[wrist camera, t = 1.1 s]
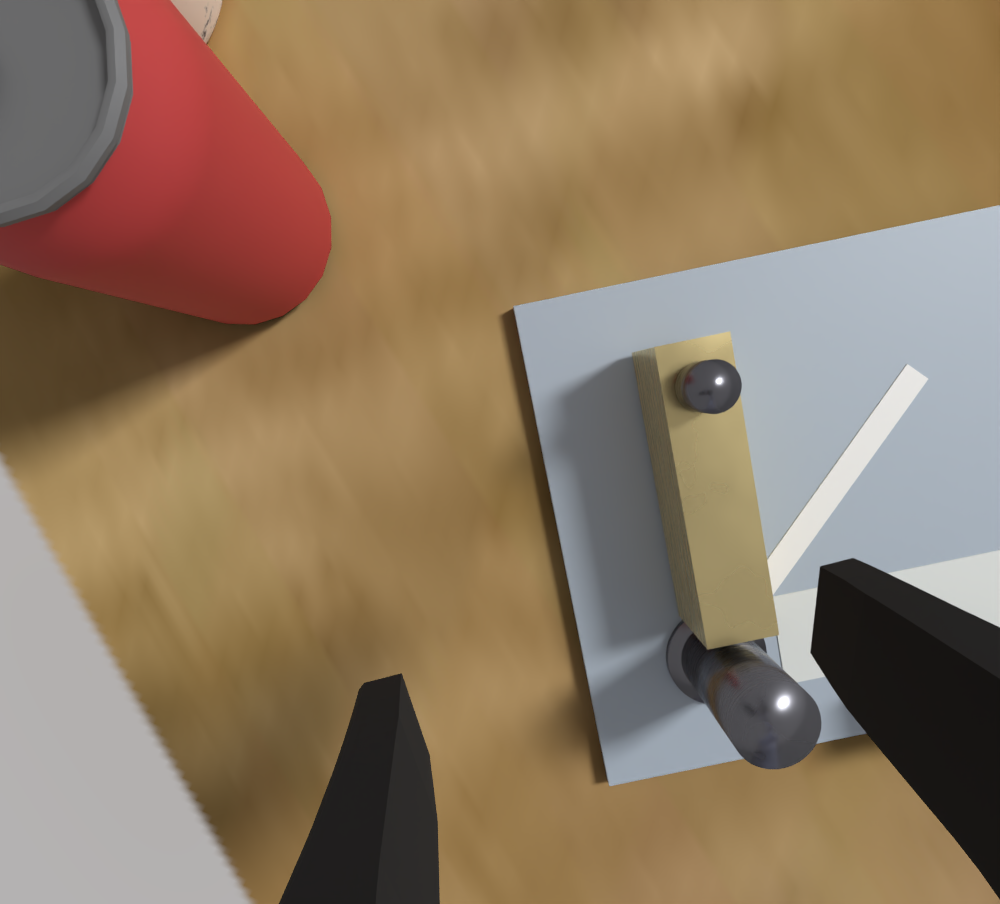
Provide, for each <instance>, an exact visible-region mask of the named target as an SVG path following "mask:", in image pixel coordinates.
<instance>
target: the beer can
mask: <svg viewBox="0 0 1000 904" xmlns="http://www.w3.org/2000/svg"><path fill="white" fill-rule="evenodd" d="M330 250H331V216H330V213H329V210H328V207H327V204H326V201H325V197H324V194H323V191H322V188H321V187H320V185H319V184H318V182H317V181H316V180H315V178H314V177H313V175H312V174H311V172H310V171H309V170H308V168H307V167H306V165H305V164H304V163H303V161H302V160H301V159H300V158H299V156H298V155H297V154H296V153H295V152H294V150H293V149H292V148H291V147H290V146H289V144H288V143H287V142H286V141H285V139H284V138H283V137H282V136H281V135H280V133H279V132H278V131H277V130H276V128H275V127H274V126H273V125H272V124H271V122H270V121H269V120H268V119H267V118H266V116H265V115H264V114H263V113H262V111H261V110H260V109H259V108H258V107H257V105H256V104H255V103H254V102H253V100H252V99H251V98H250V97H249V96H248V94H247V93H246V92H245V91H244V89H243V88H242V87H241V86H240V85H239V83H238V82H237V81H236V80H235V79H234V77H233V76H232V75H231V74H230V72H229V71H228V70H227V69H226V68H225V66H224V65H223V64H222V63H221V61H220V60H219V59H218V58H217V57H216V55H215V54H214V53H213V52H212V50H211V49H210V48H209V47H208V46H207V44H206V43H205V42H204V41H203V40H202V38H201V37H200V36H199V35H198V33H197V32H196V31H195V30H194V29H193V27H192V26H191V25H190V24H189V22H188V21H187V20H186V19H185V18H184V16H183V15H182V14H181V13H180V12H179V10H178V9H177V8H176V7H175V5H174V4H173V3H172V2H171V1H170V0H0V265H3V266H6V267H9V268H12V269H15V270H17V271H20V272H23V273H26V274H29V275H32V276H35V277H38V278H42V279H46V280H51V281H55V282H59V283H63V284H67V285H71V286H75V287H79V288H83V289H87V290H91V291H95V292H99V293H103V294H107V295H112V296H116V297H120V298H124V299H128V300H132V301H136V302H140V303H144V304H148V305H152V306H156V307H160V308H164V309H168V310H172V311H177V312H181V313H185V314H189V315H193V316H197V317H201V318H205V319H209V320H213V321H217V322H221V323H225V324H258V323H261V322H264V321H268V320H271V319H274V318H277V317H280V316H283V315H284V314H286V313H287V312H289V311H290V310H291V309H293V308H294V307H296V306H297V305H298V304H300V303H301V302H302V301H304V300H305V299H306V298H307V297H308V295H309V294H310V292H311V291H312V290H313V288H314V287H315V285H316V284H317V283H318V281H319V280H320V278H321V277H322V276H323V272H324V269H325V266H326V263H327V260H328V256H329V253H330Z"/></svg>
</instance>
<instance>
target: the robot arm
mask: <svg viewBox="0 0 1000 904" xmlns="http://www.w3.org/2000/svg"><path fill="white" fill-rule="evenodd" d="M810 653H811V655H812V656H813V658H814V660H815V661H816V663H817V664H818V666H819V667H820V669H821V671H822V672H823V674H824V675H825V677H826V679H827V680H828V682H829V683H830V685H831V686H832V688H833V689H834V691H835V692H836V694H837V695H838V697H839V698H840V700H841V701H842V703H843V704H844V706H845V707H846V708H847V710H848V711H849V712H850V713H851V715H852V716H853V717H854V718H855V720H856V721H857V722H858V723H859V725H860V726H861V727H862V728H863V729H864V731H865V732H866V733H867V734H868V736H869V737H870V738H871V739H872V740H873V742H874V743H875V744H876V745H877V746H878V748H879V749H880V750H881V751H882V753H883V754H884V755H885V756H886V757H887V758H888V760H889V761H890V762H891V763H892V764H893V766H894V767H895V768H896V769H897V770H898V772H899V773H900V774H901V775H902V776H903V778H904V779H905V780H906V781H907V782H908V784H909V785H910V786H911V787H912V788H913V790H914V791H915V792H916V793H917V794H918V796H919V797H920V798H921V799H922V800H923V802H924V803H925V804H926V805H927V806H928V807H929V809H930V810H931V811H932V812H933V813H934V815H935V816H936V817H937V818H938V819H939V821H940V822H941V823H942V824H943V825H944V827H945V828H946V829H947V830H948V831H949V833H950V834H951V835H952V836H953V837H954V839H955V840H956V841H957V842H958V844H959V845H960V846H961V848H962V849H963V850H964V851H965V853H966V854H967V855H968V857H969V858H970V859H971V860H972V862H973V863H974V864H975V865H976V867H977V868H978V869H979V871H980V872H981V873H982V875H983V876H984V878H985V879H986V880H987V882H988V883H989V885H990V886H991V888H992V889H993V890H994V892H995V893H996V895H997V896H998V897H999V899H1000V627H998V626H996V625H994V624H992V623H990V622H988V621H985V620H983V619H981V618H979V617H977V616H975V615H973V614H971V613H969V612H967V611H964V610H962V609H960V608H958V607H956V606H954V605H952V604H950V603H948V602H946V601H944V600H942V599H940V598H937V597H935V596H933V595H931V594H929V593H927V592H925V591H923V590H921V589H919V588H917V587H915V586H913V585H911V584H909V583H907V582H904V581H902V580H900V579H898V578H896V577H894V576H892V575H890V574H888V573H886V572H884V571H882V570H879V569H877V568H875V567H873V566H871V565H869V564H866V563H864V562H862V561H860V560H857V559H855V558H851V559H847V560H843V561H839V562H835V563H831V564H827V565H823V566H820V570H819V579H818V588H817V597H816V606H815V615H814V624H813V633H812V642H811V651H810ZM279 904H440V900H439V858H438V821H437V813H436V804H435V795H434V787H433V779H432V771H431V763H430V755H429V752H428V749H427V746H426V743H425V740H424V737H423V735H422V732H421V729H420V726H419V723H418V720H417V717H416V714H415V711H414V708H413V705H412V702H411V700H410V697H409V694H408V691H407V688H406V685H405V682H404V679H403V676H402V673H401V674H397V675H394V676H390V677H386V678H382V679H378V680H374V681H370V682H366V683H364V684H363V685H362V686H361V688H360V689H359V692H358V695H357V699H356V703H355V706H354V710H353V713H352V716H351V720H350V723H349V726H348V729H347V732H346V735H345V738H344V741H343V745H342V747H341V750H340V753H339V756H338V759H337V762H336V765H335V768H334V771H333V773H332V776H331V779H330V781H329V784H328V787H327V789H326V792H325V794H324V797H323V800H322V802H321V805H320V808H319V810H318V813H317V815H316V818H315V821H314V823H313V826H312V828H311V831H310V833H309V836H308V838H307V840H306V843H305V845H304V847H303V850H302V852H301V854H300V857H299V859H298V861H297V864H296V866H295V868H294V870H293V873H292V875H291V877H290V880H289V882H288V884H287V887H286V889H285V891H284V894H283V896H282V898H281V900H280V903H279Z"/></svg>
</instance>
